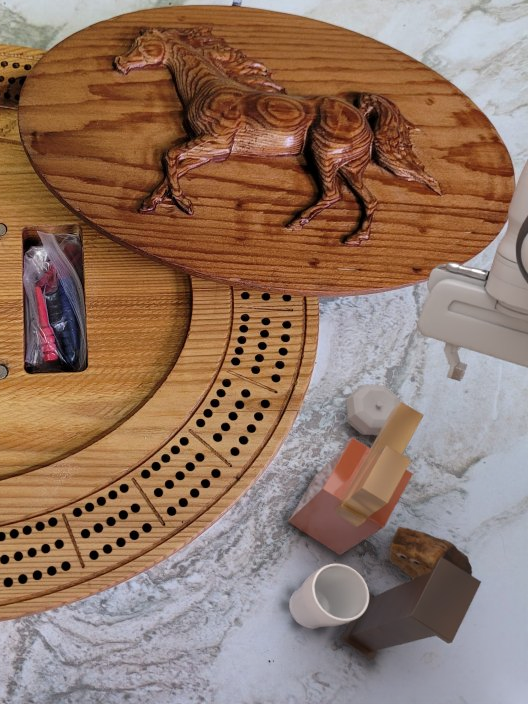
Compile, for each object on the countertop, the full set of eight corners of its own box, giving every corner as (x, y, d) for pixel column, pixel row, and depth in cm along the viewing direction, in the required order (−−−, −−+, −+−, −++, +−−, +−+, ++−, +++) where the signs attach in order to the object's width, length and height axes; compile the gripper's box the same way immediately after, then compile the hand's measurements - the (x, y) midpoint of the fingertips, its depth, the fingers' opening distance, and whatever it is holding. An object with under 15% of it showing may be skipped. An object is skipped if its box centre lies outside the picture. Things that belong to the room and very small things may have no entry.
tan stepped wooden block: (414, 422, 103) (447, 394, 94) (356, 527, 98) (385, 507, 89) (392, 409, 104) (422, 380, 95) (333, 512, 99) (359, 491, 90)
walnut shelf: (395, 612, 110) (481, 581, 87) (369, 661, 108) (452, 643, 84) (363, 591, 112) (440, 556, 88) (338, 639, 109) (410, 615, 86)
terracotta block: (366, 508, 116) (413, 473, 100) (339, 555, 114) (384, 527, 98) (314, 476, 119) (352, 437, 103) (287, 521, 116) (322, 488, 100)
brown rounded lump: (368, 560, 113) (395, 545, 104) (387, 524, 115) (415, 505, 106) (452, 613, 110) (489, 602, 100) (470, 575, 112) (508, 560, 102)
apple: (375, 387, 124) (390, 370, 118) (403, 434, 121) (419, 419, 115) (327, 404, 124) (340, 388, 118) (353, 452, 120) (368, 438, 114)
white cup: (323, 644, 109) (359, 632, 96) (275, 618, 111) (303, 603, 97) (341, 597, 111) (378, 579, 98) (293, 573, 113) (323, 552, 100)
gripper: (425, 264, 93) (397, 370, 99) (640, 320, 81) (593, 437, 87) (442, 250, 98) (414, 353, 104) (649, 301, 86) (603, 414, 92)
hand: (498, 392), depth 96 cm, fingers open, 8 cm apart
